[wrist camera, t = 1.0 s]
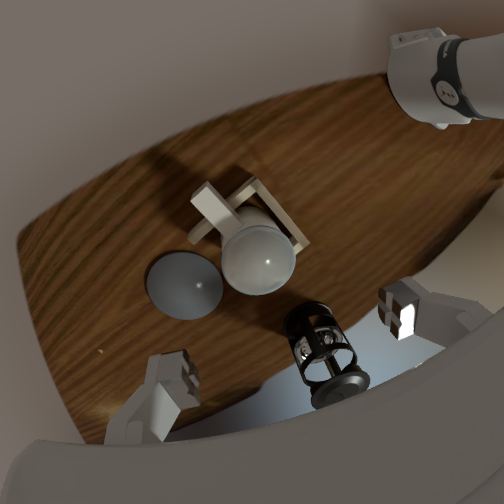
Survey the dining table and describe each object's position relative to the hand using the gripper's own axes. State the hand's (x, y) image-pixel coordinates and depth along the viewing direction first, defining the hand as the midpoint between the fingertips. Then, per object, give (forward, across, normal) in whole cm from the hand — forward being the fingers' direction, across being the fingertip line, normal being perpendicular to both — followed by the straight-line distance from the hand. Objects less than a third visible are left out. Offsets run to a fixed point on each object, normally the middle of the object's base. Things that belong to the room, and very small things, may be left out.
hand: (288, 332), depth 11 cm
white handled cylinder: (+30, 0, +4) cm, 30 cm away
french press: (+30, -8, +27) cm, 41 cm away
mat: (+30, +11, +12) cm, 34 cm away
